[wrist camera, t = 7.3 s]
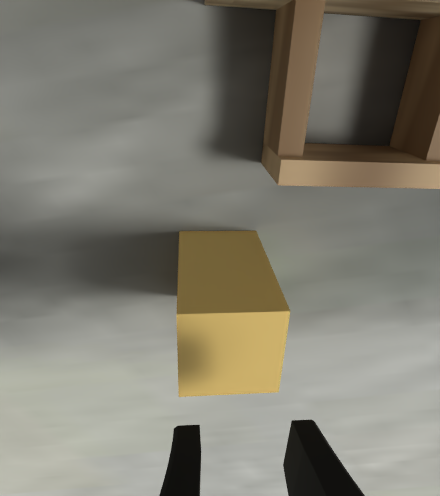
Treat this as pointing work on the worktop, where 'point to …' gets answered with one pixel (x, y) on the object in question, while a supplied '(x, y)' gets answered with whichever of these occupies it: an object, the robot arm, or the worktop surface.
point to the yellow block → (228, 315)
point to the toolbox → (300, 90)
